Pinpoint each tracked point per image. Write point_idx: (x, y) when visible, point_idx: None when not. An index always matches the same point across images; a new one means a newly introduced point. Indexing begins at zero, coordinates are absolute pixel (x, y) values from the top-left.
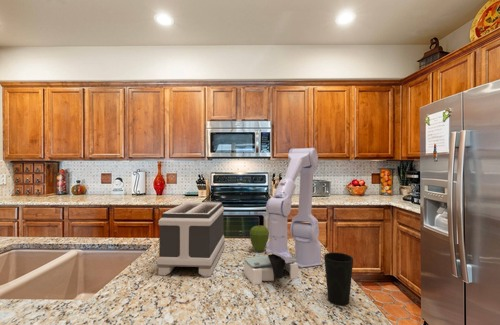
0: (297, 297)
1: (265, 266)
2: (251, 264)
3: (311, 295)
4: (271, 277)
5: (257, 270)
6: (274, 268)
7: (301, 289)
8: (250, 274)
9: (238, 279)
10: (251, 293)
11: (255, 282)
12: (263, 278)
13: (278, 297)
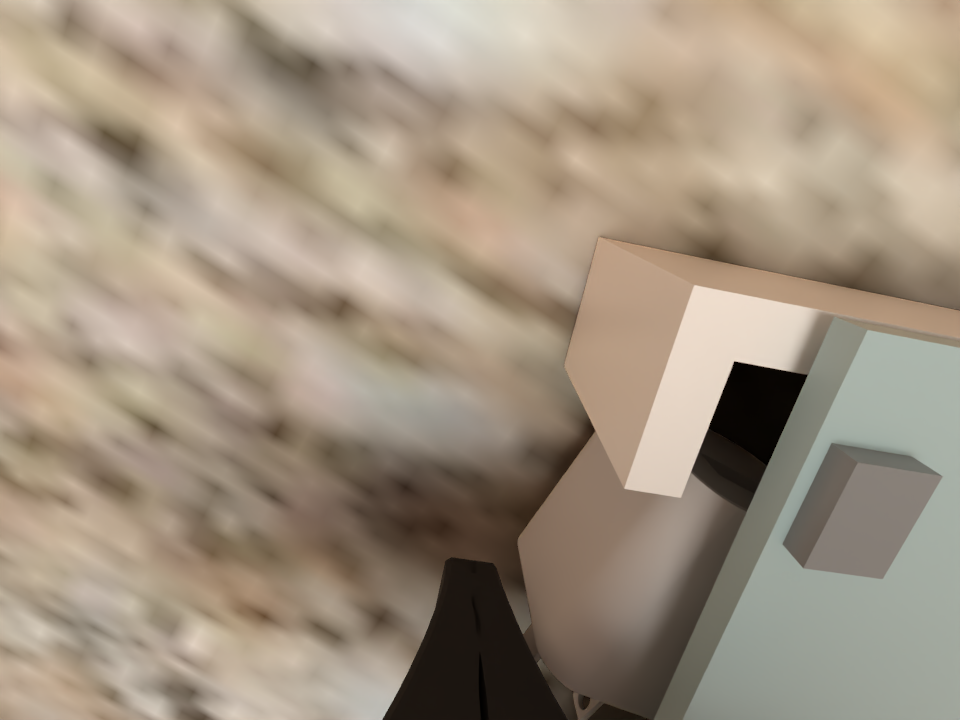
0: (46, 523)
1: None
2: (953, 377)
3: (45, 655)
4: (538, 537)
5: (651, 382)
6: (433, 689)
7: (204, 652)
8: (792, 286)
9: (924, 126)
10: (381, 47)
11: (596, 275)
12: None
13: (116, 339)
